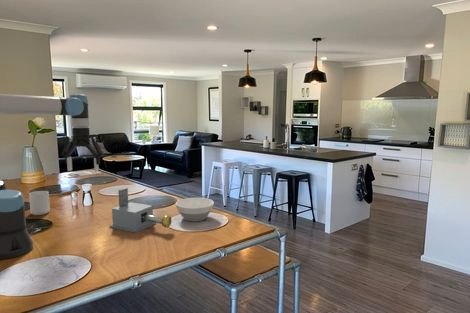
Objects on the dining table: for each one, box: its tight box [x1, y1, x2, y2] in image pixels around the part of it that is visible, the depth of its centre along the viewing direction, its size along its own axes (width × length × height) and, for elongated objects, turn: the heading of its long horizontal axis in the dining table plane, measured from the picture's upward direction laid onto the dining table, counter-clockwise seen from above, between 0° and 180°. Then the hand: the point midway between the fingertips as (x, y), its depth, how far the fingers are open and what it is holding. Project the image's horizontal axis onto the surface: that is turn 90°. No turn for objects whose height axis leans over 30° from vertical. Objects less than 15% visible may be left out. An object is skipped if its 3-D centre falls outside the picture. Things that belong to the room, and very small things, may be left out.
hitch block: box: [109, 201, 157, 234], centre depth 160 cm, size 16×14×9 cm
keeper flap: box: [117, 187, 129, 207], centre depth 161 cm, size 8×5×1 cm
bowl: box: [175, 197, 215, 222], centre depth 171 cm, size 19×19×8 cm
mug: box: [28, 190, 51, 216], centre depth 179 cm, size 12×9×11 cm
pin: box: [141, 214, 172, 228], centre depth 155 cm, size 18×5×5 cm, turn 64°
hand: (83, 170), depth 164 cm, fingers open, 13 cm apart
